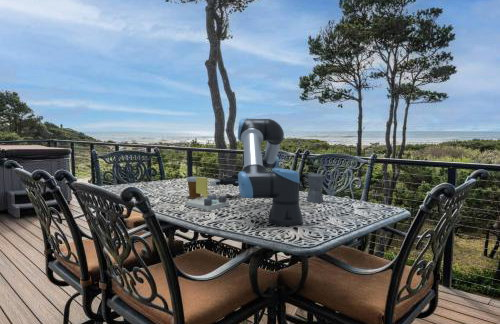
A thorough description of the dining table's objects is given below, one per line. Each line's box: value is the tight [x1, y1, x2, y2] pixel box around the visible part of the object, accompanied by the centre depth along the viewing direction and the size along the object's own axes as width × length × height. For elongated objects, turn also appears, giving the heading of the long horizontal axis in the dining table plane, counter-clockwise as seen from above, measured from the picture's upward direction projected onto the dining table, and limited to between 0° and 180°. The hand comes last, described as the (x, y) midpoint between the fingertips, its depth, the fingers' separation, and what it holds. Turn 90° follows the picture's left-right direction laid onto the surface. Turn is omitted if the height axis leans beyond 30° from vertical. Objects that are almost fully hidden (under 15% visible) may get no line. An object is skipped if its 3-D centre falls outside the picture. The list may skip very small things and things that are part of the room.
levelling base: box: [184, 195, 230, 211], centre depth 191 cm, size 18×15×5 cm
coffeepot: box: [299, 169, 328, 204], centre depth 203 cm, size 15×9×18 cm, turn 79°
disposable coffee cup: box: [186, 176, 202, 199], centre depth 214 cm, size 10×10×12 cm
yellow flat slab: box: [195, 176, 218, 200], centre depth 195 cm, size 14×5×12 cm, turn 50°
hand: (210, 183), depth 200 cm, fingers closed
